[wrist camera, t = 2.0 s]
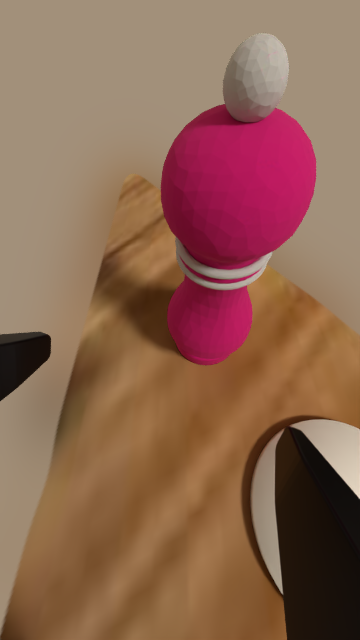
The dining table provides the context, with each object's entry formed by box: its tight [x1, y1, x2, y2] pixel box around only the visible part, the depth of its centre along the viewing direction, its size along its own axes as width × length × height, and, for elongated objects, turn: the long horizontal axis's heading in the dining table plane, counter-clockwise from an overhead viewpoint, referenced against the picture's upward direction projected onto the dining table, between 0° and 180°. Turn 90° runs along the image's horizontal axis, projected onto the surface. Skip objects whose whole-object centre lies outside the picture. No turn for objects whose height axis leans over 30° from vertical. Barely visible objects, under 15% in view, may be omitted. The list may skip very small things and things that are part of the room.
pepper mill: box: [161, 33, 316, 365], centre depth 15 cm, size 7×7×20 cm
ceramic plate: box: [250, 419, 360, 594], centre depth 17 cm, size 13×13×1 cm
